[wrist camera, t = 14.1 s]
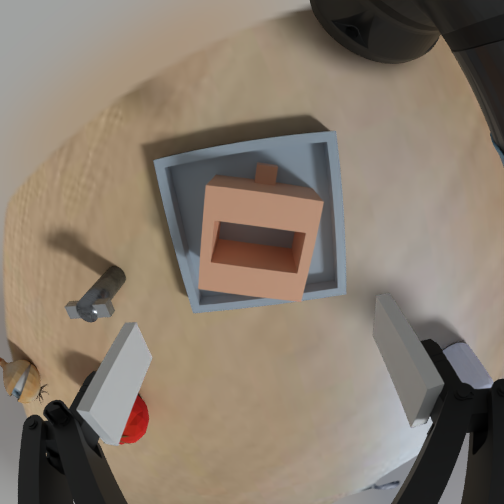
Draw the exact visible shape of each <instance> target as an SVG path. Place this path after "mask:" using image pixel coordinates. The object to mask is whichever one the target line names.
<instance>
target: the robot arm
mask: <svg viewBox="0 0 504 504" xmlns="http://www.w3.org/2000/svg"><path fill="white" fill-rule="evenodd" d="M310 3H311V7H312V9H313V12H314V14H315V16H316V17H317V19H318V21H319V22H320V24H321V25H322V26H323V28H324V29H325V30H326V31H327V32H328V33H329V34H330V35H331V36H332V37H333V38H334V39H335V40H336V41H337V42H339V43H340V44H341V45H343V46H344V47H346V48H347V49H349V50H350V51H352V52H354V53H356V54H358V55H360V56H362V57H364V58H367V59H370V60H373V61H377V62H381V63H390V64H396V63H404V62H408V61H411V60H414V59H416V58H419V57H421V56H423V55H425V54H426V53H428V52H429V51H430V50H431V49H432V48H433V47H434V45H435V44H436V42H437V41H438V39H439V36H440V35H442V36H443V38H444V39H445V41H446V42H447V44H448V46H449V47H450V49H451V51H452V53H453V54H454V56H455V58H456V60H457V61H458V63H459V65H460V67H461V69H462V70H463V72H464V74H465V76H466V78H467V80H468V82H469V84H470V86H471V88H472V90H473V92H474V94H475V96H476V98H477V100H478V103H479V105H480V107H481V109H482V112H483V114H484V116H485V119H486V121H487V124H488V126H489V129H490V131H491V133H490V136H491V140H492V142H493V145H494V147H495V149H496V150H497V152H498V153H499V156H500V158H501V161H502V164H503V166H504V0H310ZM373 337H374V339H375V341H376V344H377V346H378V348H379V350H380V353H381V355H382V357H383V360H384V362H385V364H386V366H387V369H388V371H389V374H390V376H391V378H392V381H393V383H394V386H395V388H396V391H397V393H398V395H399V398H400V401H401V403H402V406H403V408H404V411H405V413H406V416H407V419H408V421H409V424H410V427H411V428H413V427H416V426H419V425H423V424H426V423H427V421H428V419H429V417H431V419H432V421H433V424H432V426H431V427H430V429H429V431H428V433H427V437H426V439H425V442H424V444H423V446H422V448H421V450H420V452H419V454H418V457H417V459H416V461H415V463H414V465H413V467H412V468H411V471H410V472H409V474H408V476H407V478H406V480H405V481H404V483H403V485H402V487H401V488H400V490H399V492H398V494H397V495H396V497H395V498H394V500H393V502H392V503H391V504H438V502H439V500H440V498H441V496H442V494H443V492H444V489H445V487H446V485H447V483H448V480H449V478H450V476H451V473H452V471H453V468H454V466H455V463H456V461H457V458H458V455H459V453H460V450H461V447H462V444H463V441H464V438H465V435H466V433H470V437H469V451H468V462H467V471H466V478H465V485H464V491H463V496H462V502H461V504H504V379H498V380H496V381H495V382H494V383H493V385H492V386H491V388H483V389H474V388H473V387H472V386H471V385H470V384H467V383H463V382H462V381H461V380H460V378H459V377H458V375H457V373H456V372H455V370H454V368H453V367H452V365H451V364H450V362H449V360H447V357H446V356H445V354H443V351H442V349H441V348H440V346H439V345H438V344H437V343H436V342H434V341H433V340H431V339H428V340H424V341H420V340H419V339H418V337H417V335H416V334H415V332H414V330H413V329H412V327H411V326H410V324H409V322H408V321H407V319H406V318H405V316H404V315H403V313H402V311H401V310H400V308H399V307H398V305H397V304H396V302H395V301H394V299H393V298H392V296H391V295H390V293H385V294H380V295H376V304H375V317H374V328H373ZM151 360H152V356H151V354H150V352H149V350H148V347H147V345H146V343H145V341H144V339H143V336H142V334H141V332H140V329H139V327H138V325H137V322H132V323H125V324H124V326H123V327H122V329H121V331H120V332H119V334H118V336H117V337H116V339H115V341H114V342H113V344H112V346H111V348H110V349H109V351H108V353H107V354H106V356H105V358H104V360H103V361H102V363H101V365H100V367H99V368H98V370H97V372H96V371H93V372H92V373H91V374H90V375H89V376H88V377H87V378H86V379H85V381H84V383H83V386H81V388H80V390H79V392H78V394H77V395H76V397H75V399H74V401H73V403H72V404H71V406H70V408H69V409H68V407H67V406H66V405H65V404H64V402H62V401H61V400H54V401H52V402H50V403H48V405H47V406H46V407H45V409H44V412H43V415H44V416H45V417H46V418H47V419H48V421H44V420H43V419H42V418H41V417H40V416H38V415H32V416H30V417H28V418H27V419H26V421H25V422H24V425H23V432H22V439H21V449H20V459H19V475H18V504H74V503H73V500H74V502H75V504H128V503H127V502H126V500H125V498H124V496H123V494H122V492H121V490H120V488H119V486H118V484H117V482H116V480H115V478H114V476H113V474H112V472H111V469H110V467H109V465H108V463H107V460H106V458H105V456H104V453H103V451H102V448H101V446H100V445H99V443H98V440H99V437H100V438H101V439H102V440H103V441H104V443H105V444H110V445H115V446H118V445H119V442H120V439H121V436H122V434H123V431H124V428H125V426H126V423H127V420H128V418H129V415H130V412H131V410H132V407H133V405H134V402H135V400H136V397H137V394H138V392H139V389H140V387H141V384H142V382H143V379H144V377H145V375H146V372H147V370H148V367H149V365H150V362H151ZM46 453H47V456H46Z"/></svg>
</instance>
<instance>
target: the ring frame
mask: <svg viewBox="0 0 504 504" xmlns="http://www.w3.org/2000/svg"><path fill="white" fill-rule="evenodd" d="M277 171H278V166H277V165H274V164H267V163H260V162H257V167H256V175H255V179H249V178H241V177H233V176H225V175H215V176H214V177H213V178H212V179H211V180H210V181H209V182H208V183H207V184H206V188H205V199H204V211H203V223H202V236H201V251H200V266H199V284H198V289H202V290H209V291H216V292H224V293H231V294H238V295H246V296H254V297H262V298H270V299H279V300H288V301H297V302H301V300H302V297H303V293H304V288H305V284H306V280H307V276H308V272H309V268H310V264H311V259H312V255H313V250H314V246H315V242H316V237H317V232H318V228H319V223H320V218H321V213H322V209H323V204H324V201H323V200H322V199H321V198H320V197H319V195H318V194H317V193H316V192H315V191H314V189H313V188H309V187H303V186H297V185H291V184H284V183H277V182H276V177H277ZM221 221H222V222H229V223H237V224H245V225H252V226H260V227H267V228H274V229H281V230H289V231H295V232H294V237H293V243H292V248H284V247H277V246H269V245H262V244H254V243H247V242H239V241H232V240H224V239H219V234H220V224H221Z"/></svg>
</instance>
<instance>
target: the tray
mask: <svg viewBox="0 0 504 504" xmlns="http://www.w3.org/2000/svg"><path fill="white" fill-rule="evenodd" d="M153 161H154V166H155V170H156V175H157V179H158V184H159V188H160V193H161V197H162V201H163V205H164V210H165V214H166V218H167V222H168V226H169V230H170V233H171V237H172V241H173V245H174V249H175V252H176V256H177V260H178V263H179V267H180V270H181V274H182V277H183V281H184V284H185V288H186V291H187V294H188V298H189V301H190V304H191V307H192V311H193V313H201V312H211V311H222V310H231V309H240V308H249V307H258V306H266V305H274V304H282V303H289V302H297V301H288V300H279V299H270V298H262V297H254V296H246V295H238V294H231V293H224V292H216V291H209V290H202V289H198V284H199V266H200V251H201V236H202V223H203V211H204V199H205V188H206V184H207V183H208V182H209V181H210V180H211V179H212V178H213V177H214V176H215V175H225V176H233V177H241V178H249V179H255V175H256V167H257V162H260V163H267V164H274V165H277V166H278V171H277V177H276V182H277V183H284V184H291V185H297V186H303V187H309V188H313V189H314V191H315V192H316V193H317V194H318V195H319V197H320V198H321V199H322V200H323V201H324V204H323V209H322V213H321V218H320V223H319V228H318V232H317V237H316V242H315V246H314V250H313V255H312V259H311V264H310V268H309V272H308V276H307V280H306V284H305V288H304V293H303V297H302V300H301V301H304V300H311V299H318V298H325V297H331V296H338V295H344V294H346V251H345V228H344V210H343V196H342V184H341V173H340V163H339V153H338V145H337V136H336V131H322V132H311V133H301V134H292V135H284V136H276V137H269V138H262V139H255V140H248V141H242V142H236V143H230V144H225V145H219V146H214V147H208V148H203V149H198V150H194V151H189V152H184V153H180V154H175V155H171V156H167V157H162V158H159V159H156V160H153ZM294 232H295V231H289V230H281V229H274V228H267V227H260V226H252V225H245V224H237V223H229V222H222V221H221V224H220V234H219V239H224V240H232V241H239V242H247V243H254V244H262V245H269V246H277V247H284V248H292V243H293V237H294Z"/></svg>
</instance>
